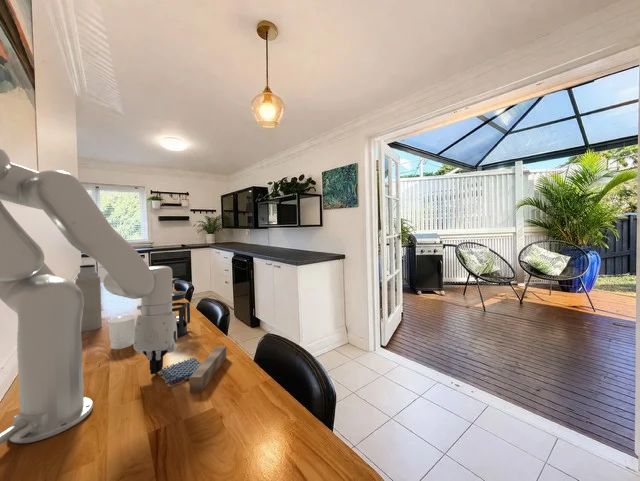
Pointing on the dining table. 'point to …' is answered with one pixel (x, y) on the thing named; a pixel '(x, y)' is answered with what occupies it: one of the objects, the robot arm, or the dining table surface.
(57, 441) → the dining table surface
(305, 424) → the dining table surface
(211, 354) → the bar
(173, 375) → the woven mat
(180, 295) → the french press
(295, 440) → the dining table surface
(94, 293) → the thermos bottle
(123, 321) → the white cup
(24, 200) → the robot arm
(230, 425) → the dining table surface
